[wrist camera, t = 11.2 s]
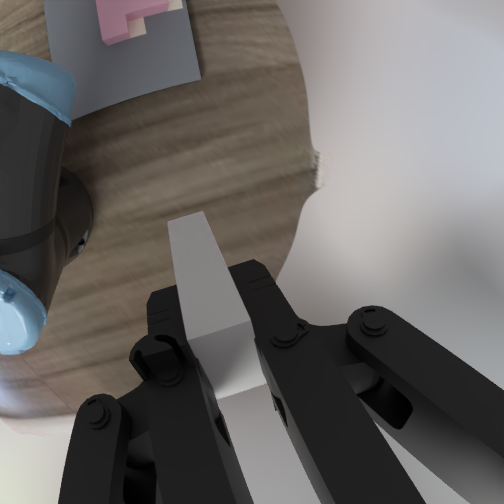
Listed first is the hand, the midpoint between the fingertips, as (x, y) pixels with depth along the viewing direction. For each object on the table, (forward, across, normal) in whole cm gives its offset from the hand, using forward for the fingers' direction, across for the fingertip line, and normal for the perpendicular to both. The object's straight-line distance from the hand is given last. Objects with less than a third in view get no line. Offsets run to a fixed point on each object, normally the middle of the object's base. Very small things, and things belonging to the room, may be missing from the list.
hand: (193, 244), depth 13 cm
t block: (+28, -2, +19) cm, 34 cm away
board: (+29, -3, +19) cm, 35 cm away
